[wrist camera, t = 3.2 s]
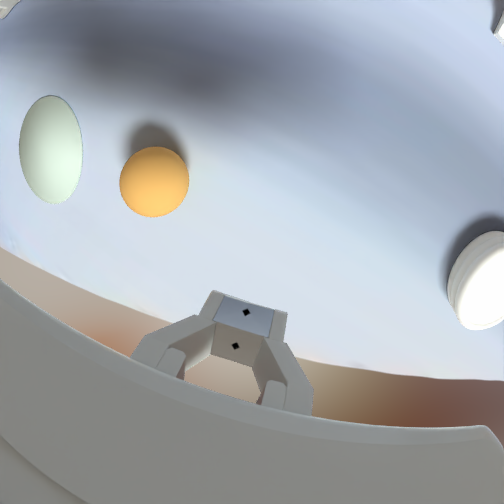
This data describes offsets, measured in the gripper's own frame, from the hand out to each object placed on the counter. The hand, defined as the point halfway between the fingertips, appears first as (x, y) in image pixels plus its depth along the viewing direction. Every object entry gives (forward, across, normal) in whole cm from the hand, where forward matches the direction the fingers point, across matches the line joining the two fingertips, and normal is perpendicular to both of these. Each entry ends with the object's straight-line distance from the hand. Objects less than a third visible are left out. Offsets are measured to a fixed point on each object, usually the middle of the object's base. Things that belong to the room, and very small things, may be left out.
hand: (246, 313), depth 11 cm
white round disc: (+14, -22, 0) cm, 26 cm away
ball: (+10, +10, 0) cm, 14 cm away
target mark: (+13, +27, 0) cm, 30 cm away
